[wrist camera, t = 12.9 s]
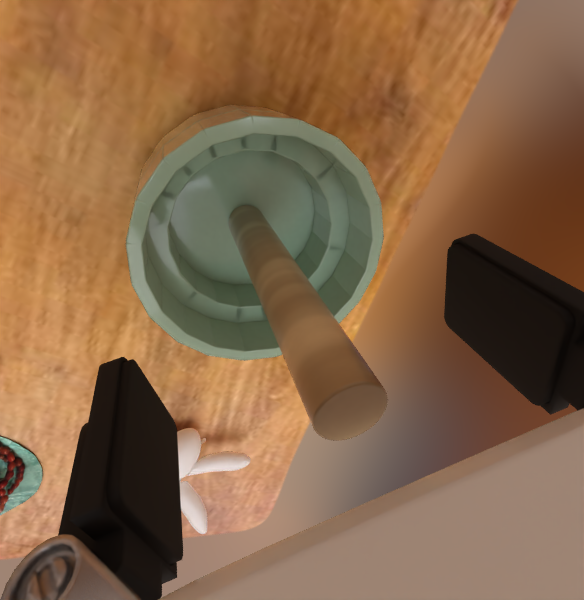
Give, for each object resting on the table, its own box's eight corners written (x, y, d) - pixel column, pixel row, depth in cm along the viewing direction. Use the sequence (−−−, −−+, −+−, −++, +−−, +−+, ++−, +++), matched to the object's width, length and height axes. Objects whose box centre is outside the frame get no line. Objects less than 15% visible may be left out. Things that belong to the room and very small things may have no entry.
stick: (223, 210, 20) (306, 402, 8) (258, 199, 20) (386, 371, 9) (234, 243, 21) (320, 452, 9) (267, 232, 21) (391, 423, 10)
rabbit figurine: (181, 395, 26) (262, 466, 28) (175, 395, 30) (247, 457, 31) (115, 468, 24) (206, 543, 25) (117, 459, 27) (197, 525, 28)
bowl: (93, 139, 17) (66, 167, 12) (317, 78, 18) (373, 81, 14) (183, 323, 23) (189, 389, 19) (345, 267, 25) (389, 315, 20)
